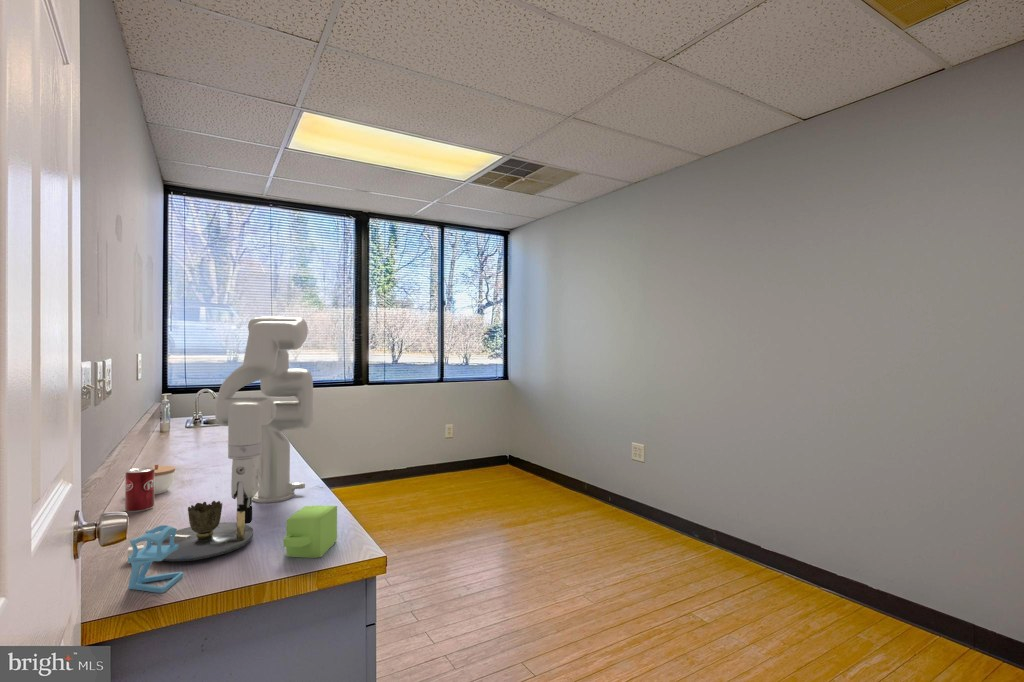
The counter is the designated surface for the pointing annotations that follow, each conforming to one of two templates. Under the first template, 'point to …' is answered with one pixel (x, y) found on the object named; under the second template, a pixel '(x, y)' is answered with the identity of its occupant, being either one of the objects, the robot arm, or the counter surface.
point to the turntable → (210, 540)
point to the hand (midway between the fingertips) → (244, 522)
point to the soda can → (139, 489)
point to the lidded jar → (163, 478)
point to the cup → (204, 518)
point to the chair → (152, 559)
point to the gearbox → (311, 531)
